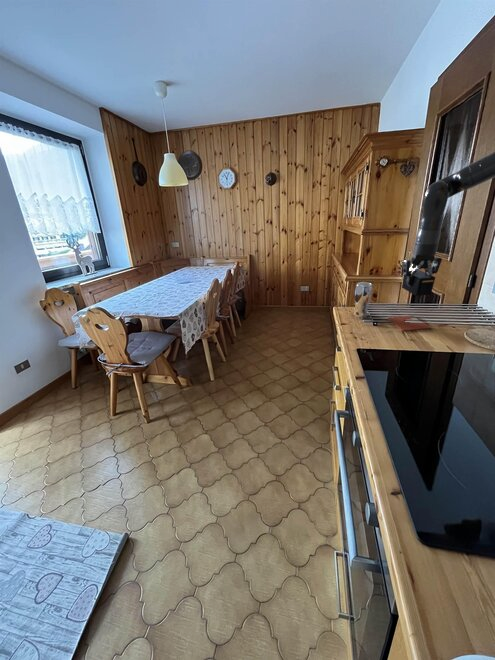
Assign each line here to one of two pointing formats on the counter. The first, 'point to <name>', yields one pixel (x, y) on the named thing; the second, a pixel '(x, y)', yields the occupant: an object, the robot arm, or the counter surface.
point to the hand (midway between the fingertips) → (417, 284)
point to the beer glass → (362, 299)
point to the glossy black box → (420, 284)
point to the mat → (408, 324)
